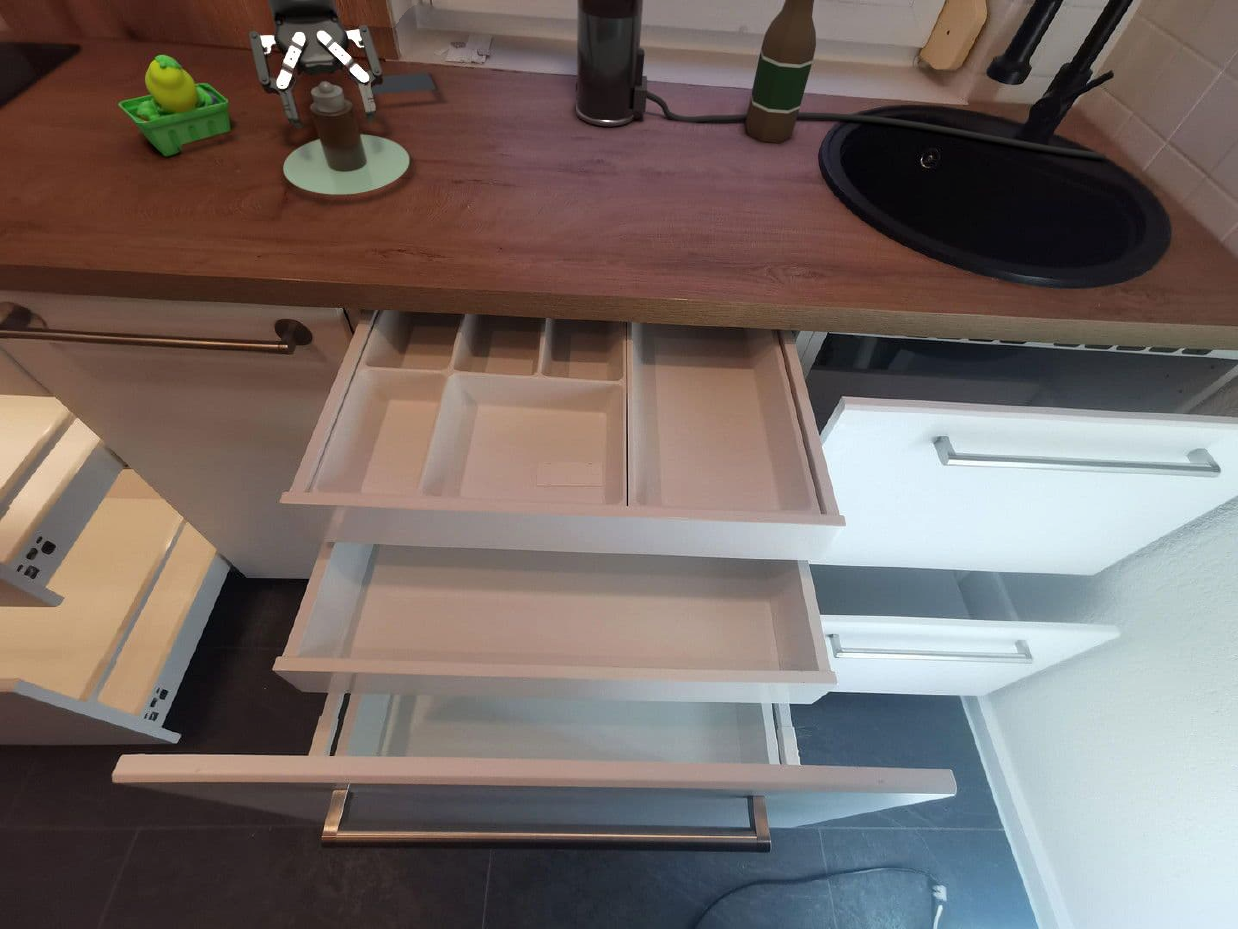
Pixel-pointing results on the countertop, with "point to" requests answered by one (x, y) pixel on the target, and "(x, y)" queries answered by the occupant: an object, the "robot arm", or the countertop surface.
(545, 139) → the countertop surface
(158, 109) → the fruit basket
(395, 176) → the plate
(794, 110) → the beer bottle
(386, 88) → the mat
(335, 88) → the pepper mill
